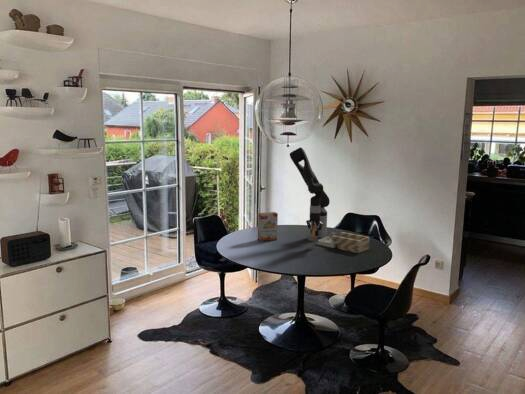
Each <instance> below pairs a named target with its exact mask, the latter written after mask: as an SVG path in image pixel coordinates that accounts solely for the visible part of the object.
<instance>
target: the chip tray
mask: <svg viewBox="0 0 525 394" xmlns="http://www.w3.org/2000/svg"><path fill="white" fill-rule="evenodd" d="M329 238H330V235H328V236H327V235H326V237H325V238H318V239H319V240H318V242H316V245H318V246H323V247H327V248H332V249H336V248H337V243H338V242H336V243H335V244H333V243H329Z"/></svg>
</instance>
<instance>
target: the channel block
mask: <svg viewBox="0 0 525 394" xmlns="http://www.w3.org/2000/svg"><path fill="white" fill-rule="evenodd" d="M370 237H371V236H367V235H366V236H365V235H361V234H356V233H351V232H345V231H340V235H337V236H335V235H332V239H331V241H336V242H338V243H337V247H336V248H337V250H340V251H341V250H343V251H348V252H350V253H351V252H352V253H356V254H360V253H362V252H365V251H367V250H369V249H370Z"/></svg>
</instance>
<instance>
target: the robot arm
mask: <svg viewBox="0 0 525 394" xmlns="http://www.w3.org/2000/svg"><path fill="white" fill-rule="evenodd" d="M289 156H290V159H291V162H292V163H293V164H294V165H295V167H296V169H297V171H298V172H299V174H300V175H301V178H302V179H303V182H304V183H305V185H306V186H307V190H308V192H309V193H310V194H313V196H311V197H310V200H309V201H310V204H309V219H306V221H305V223H306V226H307V227H308V228H307V229H310V230H309V231H310V234H311V233H312V228H313V226H315V229H316V231H315V236H317V238H318V239H322V238H325V237H327V230H328V229H327V228H328V211H327V209H326V207H328V206H329V205H330V203H331V201H330V197H329V196H328V195H327V193H326V192H325V190H324V186H323V184H322V183H320V181H319V180H318V178H317V176H316V174H315V172H314V171H313V169H312V167H311V164H310V160H309V157H308V156H307V153H306V152H305V149H303V148H302V147H298V148H296V149H295V150H293V151H291V152H289ZM302 161H303V163H304V164H303V165H302V164H301V163H300V162H302ZM314 194H315V195H314Z"/></svg>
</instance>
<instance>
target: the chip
mask: <svg viewBox="0 0 525 394" xmlns="http://www.w3.org/2000/svg"><path fill="white" fill-rule="evenodd" d="M332 235H335V236H338V232H333V231H332V232H330V233H329V236H330V239H332Z"/></svg>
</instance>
